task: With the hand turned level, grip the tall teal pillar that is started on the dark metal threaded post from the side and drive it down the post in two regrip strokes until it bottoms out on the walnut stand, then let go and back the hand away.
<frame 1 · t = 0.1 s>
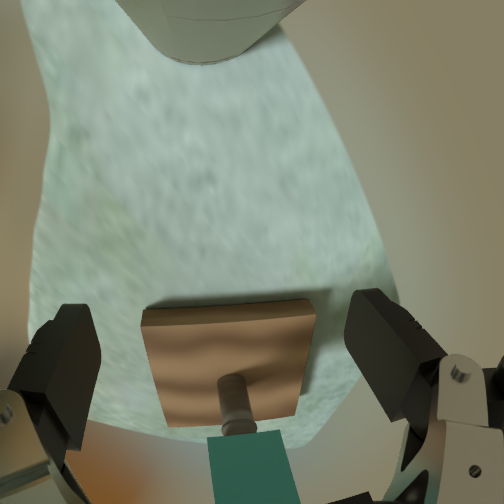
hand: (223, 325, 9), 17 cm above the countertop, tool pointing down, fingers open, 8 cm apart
tall teal pillar: (253, 502, 20), point 16 cm above the countertop, slide at 8.0 cm
post stand: (228, 365, 34), on the countertop
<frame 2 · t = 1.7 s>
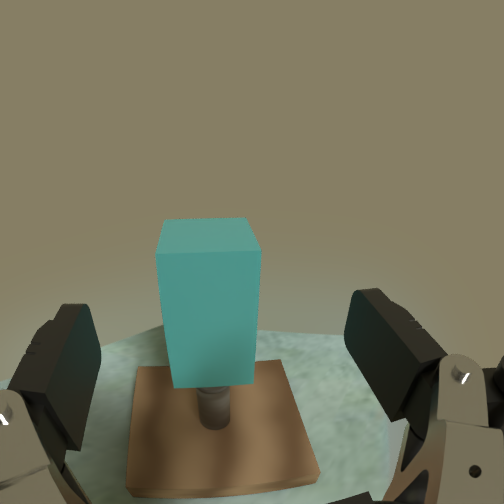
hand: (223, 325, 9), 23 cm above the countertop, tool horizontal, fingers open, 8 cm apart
tall teal pillar: (208, 305, 23), point 16 cm above the countertop, slide at 8.0 cm
post stand: (215, 431, 29), on the countertop
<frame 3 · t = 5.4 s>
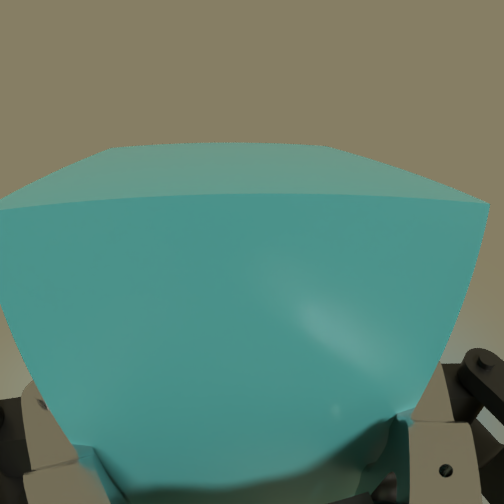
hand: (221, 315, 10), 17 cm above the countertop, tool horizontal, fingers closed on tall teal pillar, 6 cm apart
tall teal pillar: (232, 382, 8), point 16 cm above the countertop, slide at 8.0 cm, touching gripper
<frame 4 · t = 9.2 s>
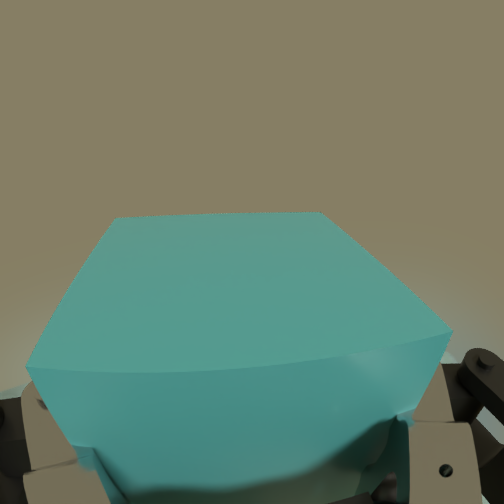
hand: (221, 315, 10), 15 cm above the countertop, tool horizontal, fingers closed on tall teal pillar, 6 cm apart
tall teal pillar: (232, 426, 8), point 12 cm above the countertop, slide at 4.0 cm, touching gripper
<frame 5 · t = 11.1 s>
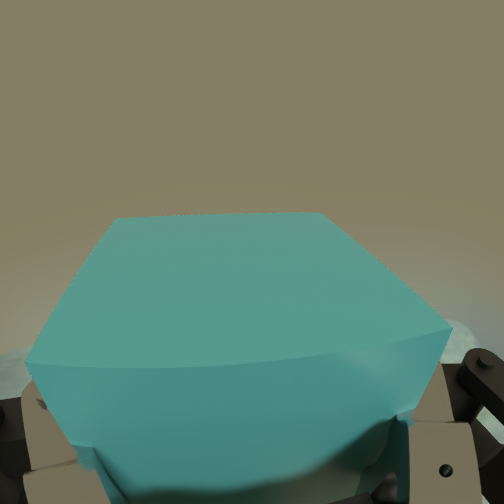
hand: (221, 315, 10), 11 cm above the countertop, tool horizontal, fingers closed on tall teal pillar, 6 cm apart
tall teal pillar: (232, 427, 8), point 8 cm above the countertop, slide at -0.1 cm, touching gripper
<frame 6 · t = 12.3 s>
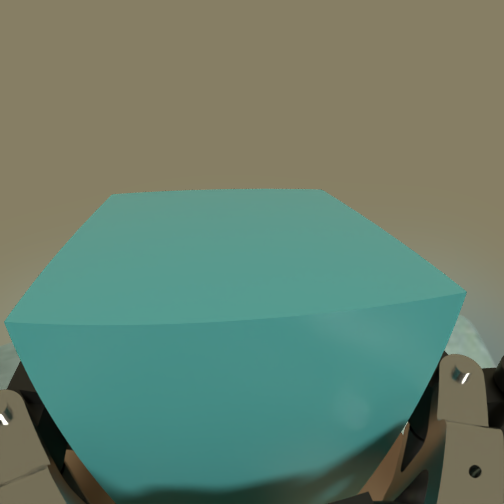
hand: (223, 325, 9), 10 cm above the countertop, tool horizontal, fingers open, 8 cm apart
tall teal pillar: (231, 413, 8), point 8 cm above the countertop, slide at -0.1 cm
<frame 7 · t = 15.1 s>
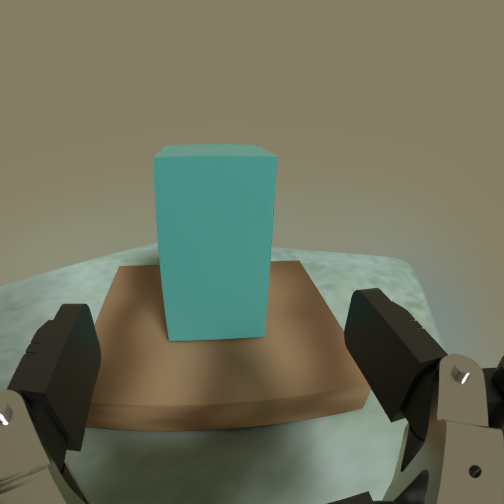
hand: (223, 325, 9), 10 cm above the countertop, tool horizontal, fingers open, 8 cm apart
tall teal pillar: (212, 238, 20), point 8 cm above the countertop, slide at -0.1 cm
post stand: (215, 341, 23), on the countertop
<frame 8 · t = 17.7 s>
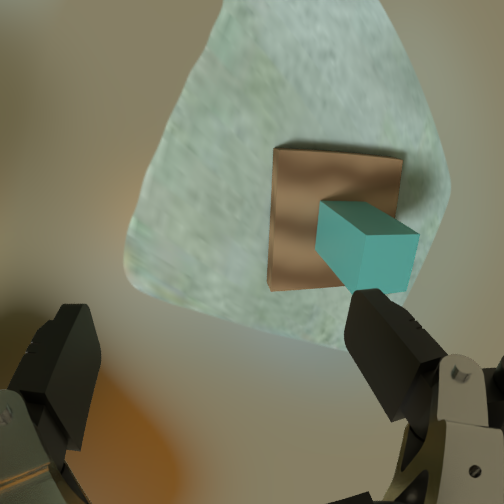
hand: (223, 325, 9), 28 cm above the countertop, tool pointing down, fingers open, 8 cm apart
tall teal pillar: (361, 242, 32), point 8 cm above the countertop, slide at -0.1 cm
post stand: (331, 218, 40), on the countertop
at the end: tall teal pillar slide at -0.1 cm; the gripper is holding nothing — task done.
